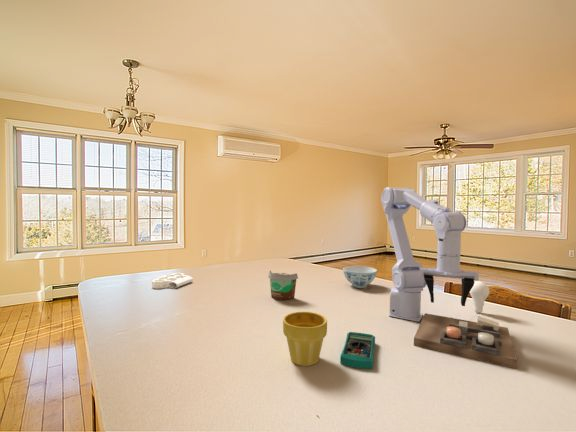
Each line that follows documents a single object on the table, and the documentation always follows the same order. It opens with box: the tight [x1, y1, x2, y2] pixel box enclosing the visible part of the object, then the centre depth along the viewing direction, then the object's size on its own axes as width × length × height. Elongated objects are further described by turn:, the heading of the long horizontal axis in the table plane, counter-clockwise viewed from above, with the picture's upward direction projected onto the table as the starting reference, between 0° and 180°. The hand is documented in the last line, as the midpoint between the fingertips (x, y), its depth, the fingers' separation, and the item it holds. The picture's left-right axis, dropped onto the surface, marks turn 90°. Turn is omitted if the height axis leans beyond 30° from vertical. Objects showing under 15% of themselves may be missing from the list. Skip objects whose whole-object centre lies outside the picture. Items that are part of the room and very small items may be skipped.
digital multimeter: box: [339, 331, 376, 370], centre depth 77 cm, size 7×15×3 cm, turn 162°
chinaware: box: [342, 265, 378, 289], centre depth 142 cm, size 15×15×8 cm
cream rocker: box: [476, 315, 500, 331], centre depth 89 cm, size 5×4×1 cm
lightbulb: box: [469, 280, 490, 314], centre depth 108 cm, size 6×6×11 cm
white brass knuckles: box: [151, 272, 194, 290], centre depth 141 cm, size 3×18×15 cm
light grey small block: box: [459, 321, 468, 334], centre depth 85 cm, size 2×4×2 cm, turn 149°
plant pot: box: [282, 311, 328, 367], centre depth 74 cm, size 10×10×10 cm
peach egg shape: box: [446, 326, 461, 338], centre depth 80 cm, size 3×3×2 cm
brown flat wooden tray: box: [413, 312, 518, 369], centre depth 86 cm, size 22×22×4 cm
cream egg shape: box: [478, 332, 494, 345], centre depth 76 cm, size 3×3×2 cm
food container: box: [267, 270, 299, 301], centre depth 121 cm, size 12×6×10 cm, turn 68°
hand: (447, 303), depth 87 cm, fingers open, 7 cm apart
